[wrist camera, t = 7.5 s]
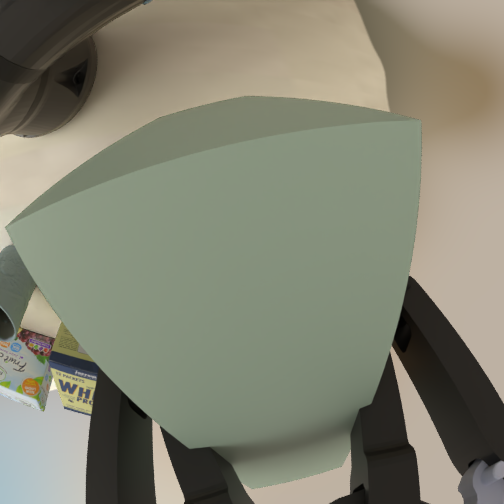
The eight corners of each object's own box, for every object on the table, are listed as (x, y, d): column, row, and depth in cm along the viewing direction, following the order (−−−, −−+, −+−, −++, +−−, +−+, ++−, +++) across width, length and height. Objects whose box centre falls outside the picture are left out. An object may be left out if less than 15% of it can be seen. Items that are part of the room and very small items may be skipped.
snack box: (56, 336, 43) (37, 400, 31) (60, 353, 46) (45, 413, 33) (-20, 310, 36) (-46, 362, 24) (-13, 327, 39) (-36, 378, 27)
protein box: (80, 340, 45) (64, 410, 32) (77, 280, 38) (46, 359, 25) (130, 352, 48) (123, 424, 35) (138, 295, 41) (125, 380, 28)
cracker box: (160, 117, 14) (5, 226, 2) (249, 95, 14) (432, 120, 3) (224, 318, 23) (252, 489, 11) (285, 303, 23) (345, 465, 11)
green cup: (26, 235, 32) (-12, 285, 22) (53, 288, 37) (28, 342, 28) (-10, 248, 31) (-45, 294, 21) (16, 295, 37) (-10, 343, 27)
